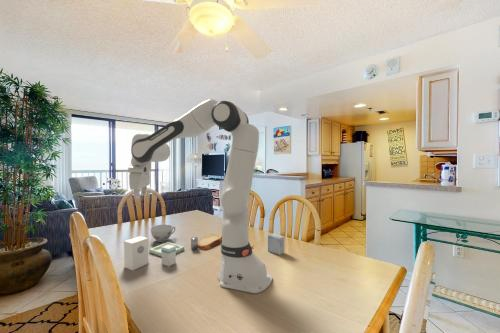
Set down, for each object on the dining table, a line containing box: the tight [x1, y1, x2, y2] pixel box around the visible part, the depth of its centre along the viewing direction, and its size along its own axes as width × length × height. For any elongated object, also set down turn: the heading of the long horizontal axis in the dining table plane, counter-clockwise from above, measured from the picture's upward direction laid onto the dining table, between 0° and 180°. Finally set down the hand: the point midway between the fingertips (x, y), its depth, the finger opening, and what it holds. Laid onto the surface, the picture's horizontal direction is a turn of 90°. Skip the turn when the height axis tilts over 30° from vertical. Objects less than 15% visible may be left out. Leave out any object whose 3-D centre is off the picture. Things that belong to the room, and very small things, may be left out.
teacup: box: [150, 224, 176, 243], centre depth 141 cm, size 15×12×8 cm
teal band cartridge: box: [161, 244, 177, 267], centre depth 110 cm, size 5×4×8 cm
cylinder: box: [190, 236, 199, 251], centre depth 127 cm, size 4×4×6 cm
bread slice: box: [198, 233, 222, 251], centre depth 136 cm, size 18×18×4 cm
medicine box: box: [267, 233, 285, 256], centre depth 123 cm, size 8×4×9 cm, turn 47°
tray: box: [148, 241, 185, 258], centre depth 124 cm, size 13×12×2 cm
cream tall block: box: [123, 235, 150, 271], centre depth 108 cm, size 7×8×12 cm
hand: (140, 196), depth 112 cm, fingers open, 8 cm apart
